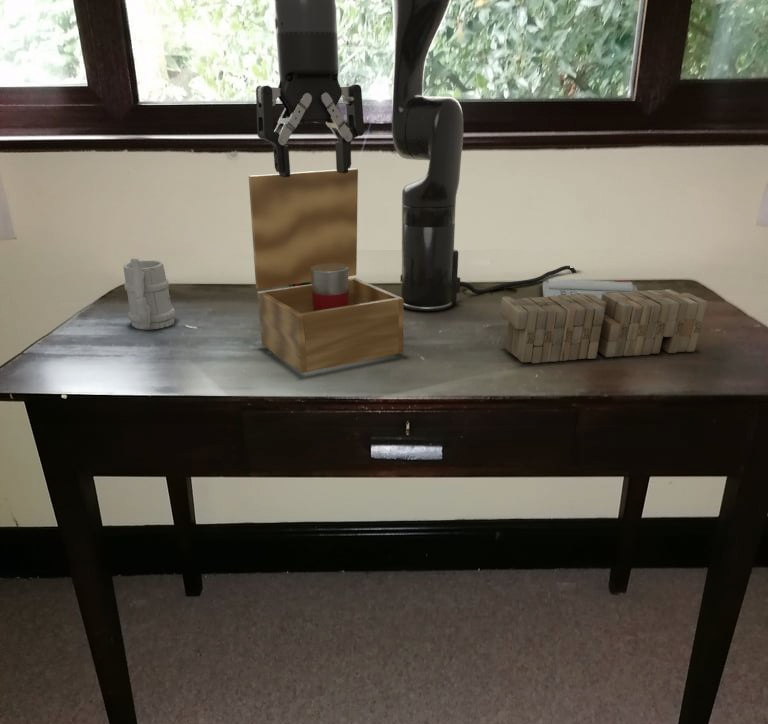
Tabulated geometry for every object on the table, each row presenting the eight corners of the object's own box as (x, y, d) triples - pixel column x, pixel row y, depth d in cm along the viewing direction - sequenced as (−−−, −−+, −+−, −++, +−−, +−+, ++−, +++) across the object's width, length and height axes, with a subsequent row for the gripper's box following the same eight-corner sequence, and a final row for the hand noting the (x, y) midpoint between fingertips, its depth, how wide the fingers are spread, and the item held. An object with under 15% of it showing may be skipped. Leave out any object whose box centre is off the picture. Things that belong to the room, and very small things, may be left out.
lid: (358, 169, 105) (341, 162, 109) (250, 176, 98) (236, 169, 102) (356, 275, 114) (340, 265, 118) (257, 289, 107) (244, 278, 111)
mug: (179, 316, 128) (168, 245, 121) (169, 336, 118) (157, 260, 111) (134, 318, 127) (121, 246, 121) (121, 338, 117) (106, 262, 111)
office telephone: (542, 274, 142) (648, 277, 140) (541, 287, 144) (645, 291, 141) (544, 304, 123) (667, 308, 120) (543, 319, 124) (664, 324, 121)
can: (340, 341, 112) (337, 261, 106) (357, 351, 108) (354, 268, 102) (309, 347, 110) (304, 266, 104) (325, 357, 106) (320, 273, 100)
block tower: (667, 342, 116) (494, 348, 111) (680, 288, 112) (500, 292, 107) (694, 357, 110) (512, 365, 104) (709, 301, 105) (519, 306, 100)
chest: (403, 357, 108) (403, 298, 104) (302, 378, 101) (297, 315, 97) (356, 332, 119) (355, 277, 114) (262, 349, 112) (257, 291, 107)
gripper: (263, 27, 83) (275, 181, 91) (372, 29, 89) (374, 174, 97) (240, 30, 89) (254, 175, 97) (344, 32, 95) (348, 168, 103)
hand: (314, 174), depth 97 cm, fingers open, 8 cm apart
